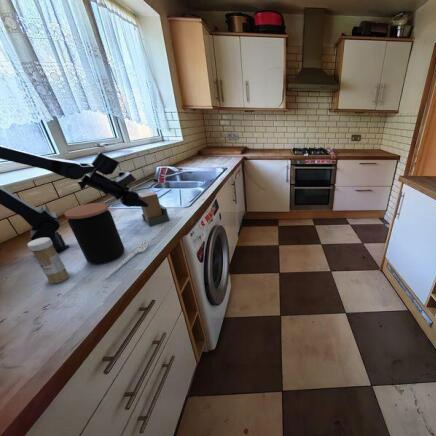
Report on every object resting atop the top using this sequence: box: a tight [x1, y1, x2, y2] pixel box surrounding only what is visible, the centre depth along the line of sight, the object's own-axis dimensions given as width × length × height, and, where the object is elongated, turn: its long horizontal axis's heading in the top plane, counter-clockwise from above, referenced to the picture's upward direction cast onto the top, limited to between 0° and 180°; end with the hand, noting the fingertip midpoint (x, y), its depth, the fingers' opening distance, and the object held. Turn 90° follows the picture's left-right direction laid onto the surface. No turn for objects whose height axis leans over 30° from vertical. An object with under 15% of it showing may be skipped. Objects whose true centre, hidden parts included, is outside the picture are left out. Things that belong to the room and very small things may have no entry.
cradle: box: [141, 204, 170, 227], centre depth 103 cm, size 8×9×6 cm
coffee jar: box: [63, 202, 125, 265], centre depth 75 cm, size 11×11×18 cm
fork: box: [104, 239, 150, 279], centre depth 77 cm, size 3×20×2 cm, turn 177°
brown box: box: [138, 190, 163, 224], centre depth 101 cm, size 6×6×13 cm
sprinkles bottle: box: [26, 237, 70, 284], centre depth 66 cm, size 5×5×14 cm
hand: (144, 203), depth 99 cm, fingers open, 9 cm apart
